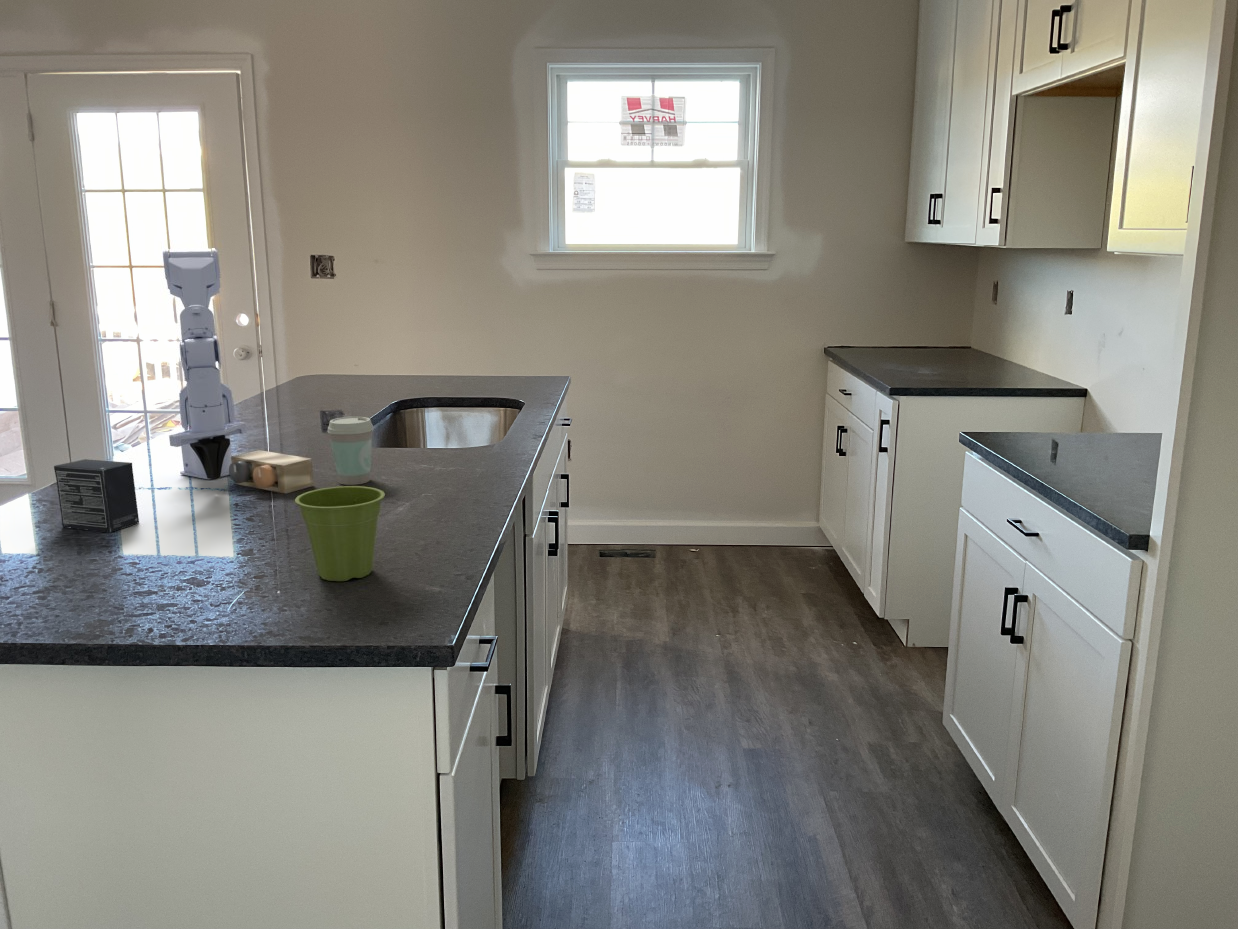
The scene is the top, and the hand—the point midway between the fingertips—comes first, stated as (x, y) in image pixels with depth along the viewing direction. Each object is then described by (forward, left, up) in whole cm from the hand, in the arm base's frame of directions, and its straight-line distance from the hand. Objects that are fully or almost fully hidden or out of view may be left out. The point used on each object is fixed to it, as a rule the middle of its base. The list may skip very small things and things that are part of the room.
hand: (213, 478), depth 177 cm
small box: (+1, -22, -3) cm, 22 cm away
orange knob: (+7, +8, -2) cm, 11 cm away
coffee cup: (+15, +20, -3) cm, 25 cm away
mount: (+3, +10, -3) cm, 11 cm away
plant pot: (+54, -18, -3) cm, 57 cm away
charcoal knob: (0, +8, -2) cm, 8 cm away
